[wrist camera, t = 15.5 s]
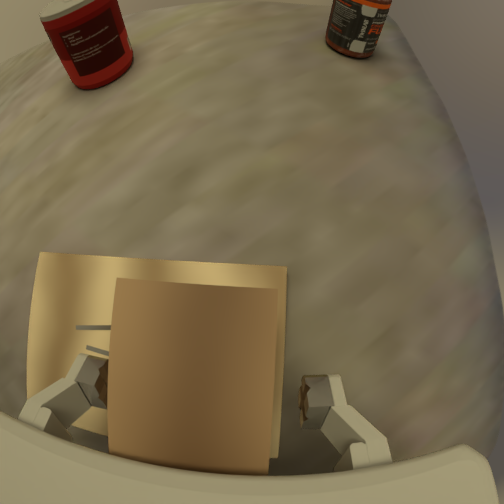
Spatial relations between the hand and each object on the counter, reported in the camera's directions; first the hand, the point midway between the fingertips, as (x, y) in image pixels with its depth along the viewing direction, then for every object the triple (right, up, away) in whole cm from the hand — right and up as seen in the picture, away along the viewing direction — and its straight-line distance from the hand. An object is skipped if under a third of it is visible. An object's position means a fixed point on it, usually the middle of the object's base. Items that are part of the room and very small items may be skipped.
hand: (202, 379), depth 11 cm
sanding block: (0, -1, +5) cm, 5 cm away
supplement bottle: (+13, +29, +16) cm, 36 cm away
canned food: (-15, +26, +15) cm, 33 cm away
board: (-5, -1, +6) cm, 8 cm away
